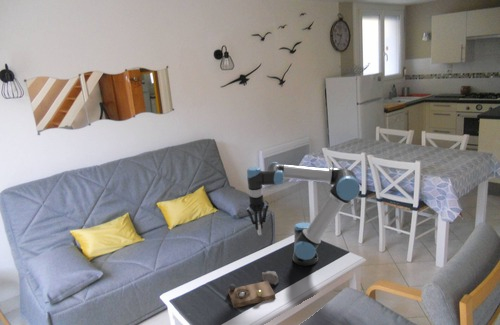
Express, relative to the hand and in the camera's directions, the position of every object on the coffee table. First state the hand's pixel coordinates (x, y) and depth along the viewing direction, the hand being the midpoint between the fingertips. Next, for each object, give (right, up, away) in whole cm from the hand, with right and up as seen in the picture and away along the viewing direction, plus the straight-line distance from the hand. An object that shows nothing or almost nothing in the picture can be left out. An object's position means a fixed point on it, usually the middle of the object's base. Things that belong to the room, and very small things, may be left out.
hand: (259, 234), depth 214 cm
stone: (+6, -26, -3) cm, 27 cm away
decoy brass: (-1, -27, -20) cm, 33 cm away
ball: (-10, -29, -16) cm, 34 cm away
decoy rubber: (-15, -26, -13) cm, 32 cm away
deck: (-5, -30, -15) cm, 33 cm away
